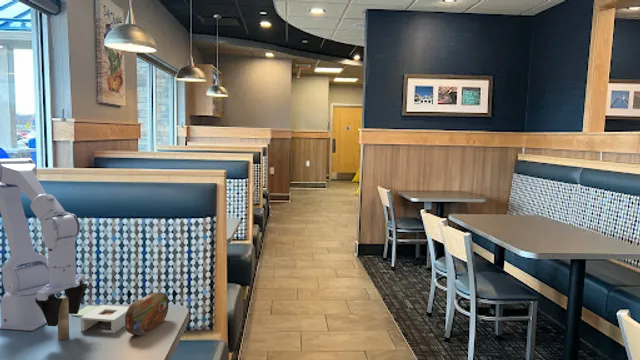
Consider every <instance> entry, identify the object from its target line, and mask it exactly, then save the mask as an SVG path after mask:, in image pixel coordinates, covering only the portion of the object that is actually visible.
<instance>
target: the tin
mask: <svg viewBox="0 0 640 360" xmlns="http://www.w3.org/2000/svg"><path fill="white" fill-rule="evenodd" d="M128 307H129V308H128V310H127V312H126V315H125V326H124V327H125V330H126V332H128V333H129V334H130V335H135V336H143V335H145V334H146V333H149V332H150V331H151V330H153V329H154V328H155V327H157V326H159V325H160V324H162V323H163V322H164V321H165V319H166V317H167V314H168V311H169V299H168V297H167V294H165V293H164V292H161V291H160V292H151V293H149V294H147V295H145V296H144V297H142V298H140V299H138V300H136V301H134V302H132V304H130V305H129V306H128Z"/></svg>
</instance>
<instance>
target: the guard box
mask: <svg viewBox="0 0 640 360" xmlns="http://www.w3.org/2000/svg"><path fill="white" fill-rule="evenodd" d="M128 308H129V306H123V305H106V304H101V305H99V307H98V308H96V309H94V310H93V311H91V312H89V313H88V314H86V315H84V316H83V317H80V331H81V332H85V331H86V330H88V329H89V328H91V327H93V325H96V324H97V323H99V322H102V321H110V322H107V323H105V322H102V323H101V324H100V325H99V326H98V328H106V329H107V328H109V329H110V330H111V334H115V333H117V332H118V331H119V330H121V329H122V328H123V327H126V326H125V315H126V312H127V310H128ZM107 313H112V314H111V315H104V314H107Z"/></svg>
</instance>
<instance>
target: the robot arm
mask: <svg viewBox="0 0 640 360" xmlns="http://www.w3.org/2000/svg"><path fill="white" fill-rule="evenodd" d="M37 170H38V169H37V165H36V162H35V161H34V160H33V158H31V157H25V158H0V215H1V220H2V223H3V227H4V231H5V235H6V240H7V243H8V247H9V250H10V258H9V259H8V260H7V261H6V262H5V264H3V266H2V268H1V272H2V274H1V275H2V279H1V280H2V286H3V289H4V290H5V293H4V294H3V296H2V298H1V301H0V323H1V324H0V329H1V330H2V329H3V330H4V329H5V330H15V331H17V330H18V331H29V332H30V331H35V330H37V329H39V328H40V327H42V326H43V325H45V324H47V327H56V326H57V327H58V318H59V308H60V305H61V302H62V300H63V298H60V297H57V295H58V294H59V293H61V292H64V295H65V297H68V300H69V315H72V314H78V312H79V310H80V307H81V304H82V299H83V297H84V294H85V293H86V290H87V289H88V283H85V282H86V274H83V273H82V274H81V273H77V272H76V270H77V269H76V238H77V237H78V236H79V235H80V232H81V223H80V220H79V218H78V217H77V215H76V214H74V213H71V212H69V211H66V210H65V209H64V207H63V206H62V205H61V204H60V202H59V200H58V199H57V198H56V197H55V196H54V195H53V194H50V193H46V190H44V188H43V186H42V184H41V182H40V181H39V178H38V177H37V174H38V173H37V172H38V171H37ZM23 193H24V194H25V196H27V198H28V199H29V200H30V201H31V203H30V209H31V211H32V212H33V214H34V215H35V217H36V218H37V220H38V221H39V222H40V224H41V225H42V227H41V235H42V237H43V239H44V245H45V248H47V257H46V256H45V255H43V254H41V253H39V252H36V251H35V248H34V244H33V241H32V236H31V234H30V229H29V226H28V223H27V218H26V215H25V210H24V207H23V203H22V200H21V194H23Z"/></svg>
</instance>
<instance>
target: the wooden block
mask: <svg viewBox="0 0 640 360" xmlns="http://www.w3.org/2000/svg"><path fill="white" fill-rule="evenodd" d="M59 298H63V300H62V302H61V305H60V308H59V318H58V325H57V339H58V341H65V340H68V339H70V314H69V300H68V297H66V296H60V297H59Z"/></svg>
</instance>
